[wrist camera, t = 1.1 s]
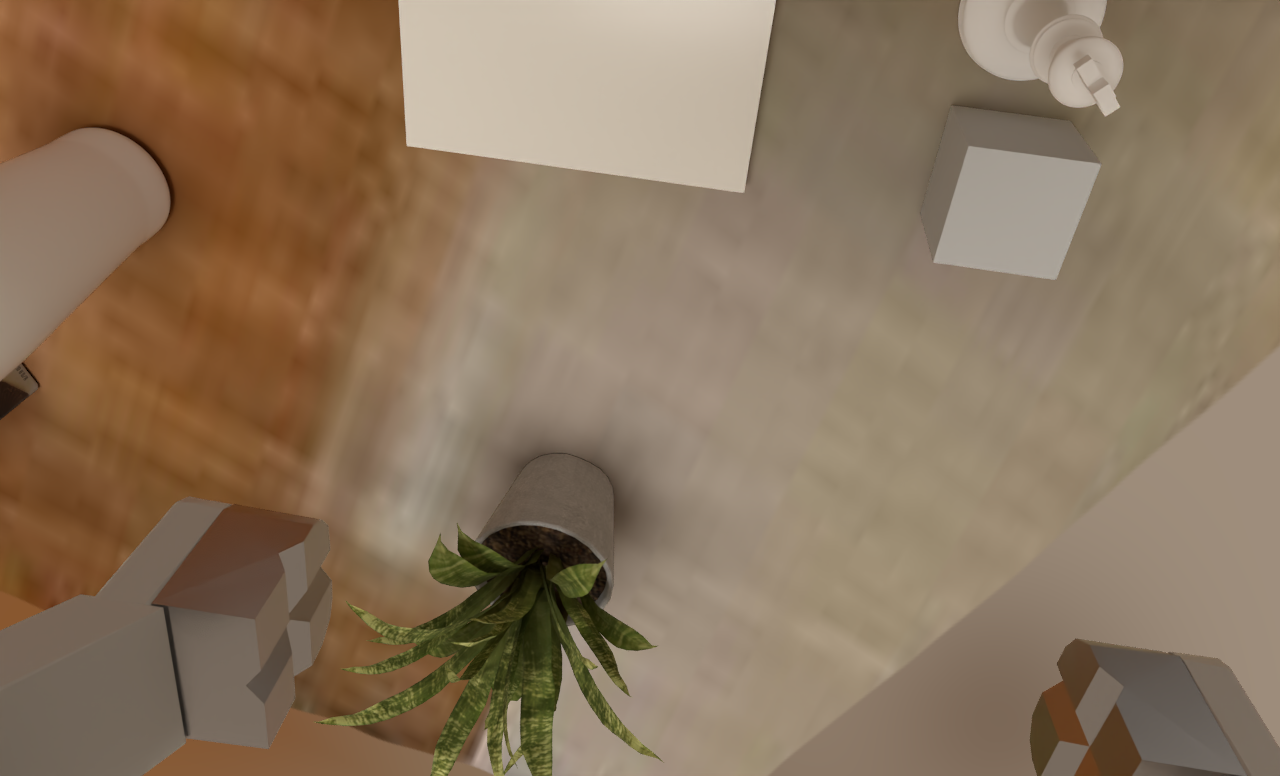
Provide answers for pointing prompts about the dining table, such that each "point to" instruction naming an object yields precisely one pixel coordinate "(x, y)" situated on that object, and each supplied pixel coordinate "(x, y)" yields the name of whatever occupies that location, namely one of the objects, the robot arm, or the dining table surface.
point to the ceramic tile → (590, 83)
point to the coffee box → (15, 389)
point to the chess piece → (1045, 46)
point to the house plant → (519, 617)
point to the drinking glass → (69, 229)
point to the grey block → (1007, 192)
